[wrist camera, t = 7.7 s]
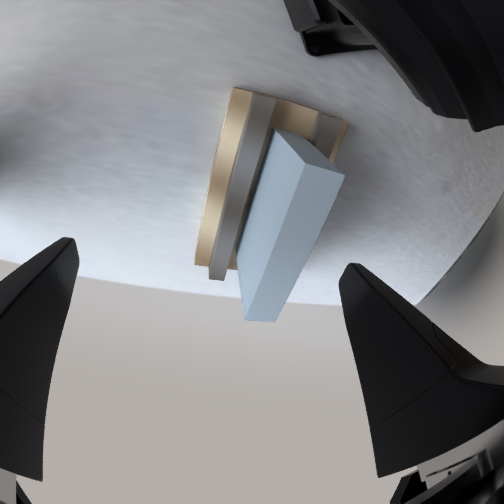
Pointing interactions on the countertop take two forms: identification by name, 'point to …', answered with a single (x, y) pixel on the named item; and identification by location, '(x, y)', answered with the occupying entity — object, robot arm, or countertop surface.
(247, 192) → the door track
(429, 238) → the countertop surface
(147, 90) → the countertop surface
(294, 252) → the door panel
